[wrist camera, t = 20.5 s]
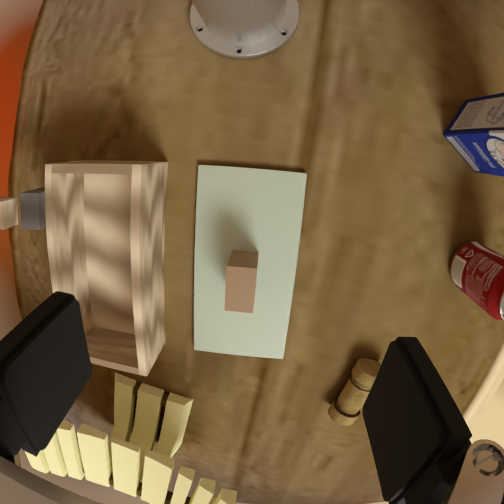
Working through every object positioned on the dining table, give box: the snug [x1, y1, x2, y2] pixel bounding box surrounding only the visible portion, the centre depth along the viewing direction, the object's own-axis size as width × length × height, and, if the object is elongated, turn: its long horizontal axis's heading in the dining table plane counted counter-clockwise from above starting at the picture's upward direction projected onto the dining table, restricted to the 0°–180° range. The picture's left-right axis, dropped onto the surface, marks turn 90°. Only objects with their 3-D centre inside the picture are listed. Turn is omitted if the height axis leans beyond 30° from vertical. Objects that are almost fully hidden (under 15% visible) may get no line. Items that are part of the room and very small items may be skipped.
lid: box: [194, 165, 307, 359], centre depth 36 cm, size 24×12×7 cm, turn 176°
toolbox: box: [20, 160, 168, 376], centre depth 35 cm, size 24×15×9 cm, turn 174°
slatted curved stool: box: [25, 372, 237, 504], centre depth 39 cm, size 30×16×18 cm, turn 74°
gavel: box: [328, 358, 381, 426], centre depth 42 cm, size 21×5×10 cm
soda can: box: [450, 241, 504, 320], centre depth 31 cm, size 7×7×12 cm
